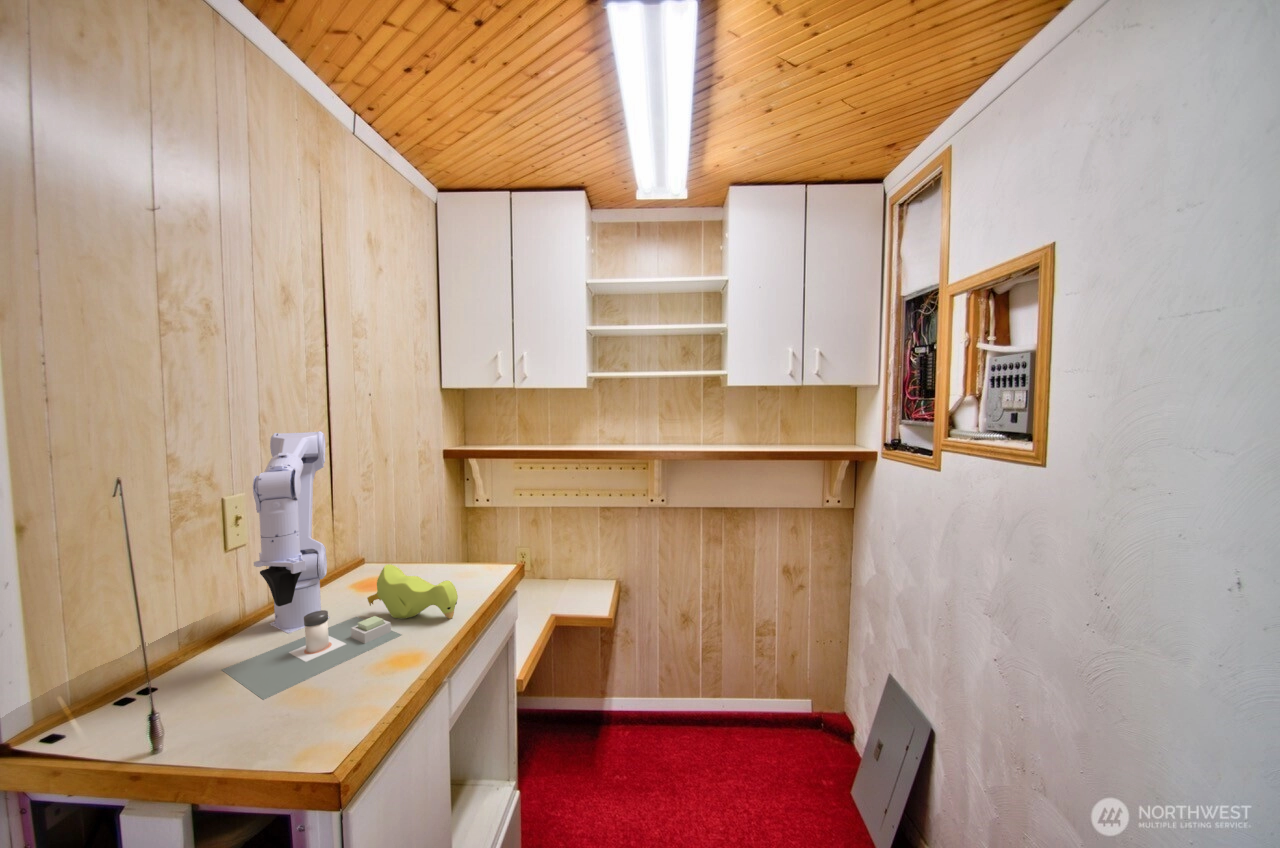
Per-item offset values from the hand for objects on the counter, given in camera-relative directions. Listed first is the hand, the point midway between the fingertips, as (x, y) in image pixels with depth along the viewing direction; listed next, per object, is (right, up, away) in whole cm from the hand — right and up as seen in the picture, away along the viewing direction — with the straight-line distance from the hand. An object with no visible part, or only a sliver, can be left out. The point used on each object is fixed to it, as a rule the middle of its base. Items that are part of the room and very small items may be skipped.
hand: (284, 603), depth 83 cm
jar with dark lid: (+5, -10, +2) cm, 11 cm away
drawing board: (+6, -10, +1) cm, 12 cm away
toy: (+17, -10, +16) cm, 25 cm away
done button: (+12, -9, +7) cm, 17 cm away
